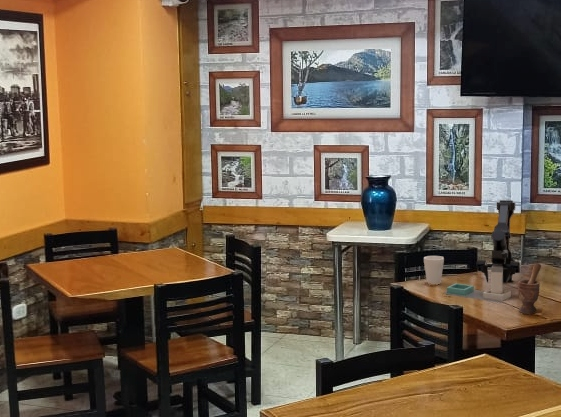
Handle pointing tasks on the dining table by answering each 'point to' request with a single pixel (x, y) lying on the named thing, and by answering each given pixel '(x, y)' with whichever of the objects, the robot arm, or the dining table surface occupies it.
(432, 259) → the foam cup
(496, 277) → the plug block
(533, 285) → the mortar and pestle
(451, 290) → the socket board
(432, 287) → the dining table surface
